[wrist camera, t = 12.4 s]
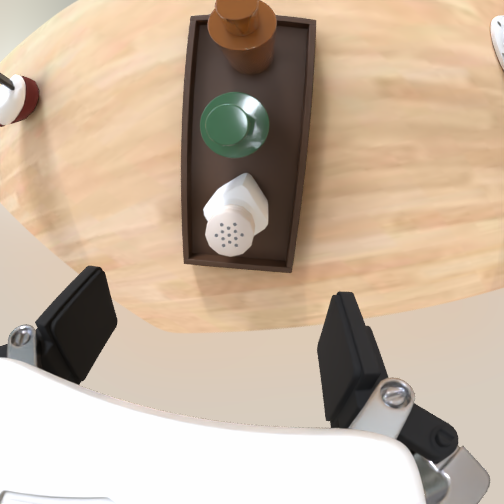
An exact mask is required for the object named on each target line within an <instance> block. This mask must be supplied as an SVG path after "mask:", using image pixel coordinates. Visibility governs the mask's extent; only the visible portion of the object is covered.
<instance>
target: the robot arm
mask: <svg viewBox="0 0 504 504" xmlns="http://www.w3.org/2000/svg"><path fill="white" fill-rule="evenodd" d="M491 37H492V42H493V46H494V49H495V52H496V55H497V57H498V59H499V62H500V64H501V66H502V68H503V70H504V16H502V15H501V16H496V17H495V18H493V20H492V22H491ZM35 323H36V325H37V327H38V328H37V329H36V330H35V329H34V327H33V326H31V325H27V324H26V325H21V326H19V327H17V328H15V329H14V330H13V331H12V332H11V334H10V335H9V338H8V344H6V345H3V346H0V504H478V503H479V502H480V500H481V499H482V498H483V496H484V495H485V493H486V492H487V490H488V488H489V485H490V476H489V474H488V473H487V471H486V470H485V469H484V468H483V467H482V466H481V465H480V463H479V462H478V461H477V460H476V459H475V458H474V457H473V456H472V455H471V454H470V453H469V451H468V450H466V448H465V447H464V446H462V447H459V446H458V435H457V432H456V430H455V429H454V428H453V427H452V426H451V425H450V424H448V423H446V422H444V421H443V420H441V419H440V418H438V417H436V416H435V415H433V414H431V413H429V412H428V411H426V410H425V409H423V408H421V407H419V406H418V405H416V404H415V403H414V401H415V393H414V391H413V389H412V387H411V386H410V385H409V384H408V383H407V382H405V381H404V380H401V379H399V378H388V375H387V372H386V369H385V366H384V363H383V360H382V357H381V354H380V352H379V349H378V346H377V343H376V341H375V338H374V335H373V332H372V330H371V328H370V327H369V326H365V323H364V321H363V317H362V315H361V312H360V309H359V307H358V304H357V302H356V299H355V297H354V294H353V293H352V292H338V293H337V295H333V296H332V298H331V302H330V305H329V309H328V312H327V316H326V319H325V323H324V326H323V329H322V333H321V336H320V339H319V342H318V347H317V353H318V359H319V367H320V375H321V383H322V390H323V399H324V408H325V417H326V421H330V423H331V428H304V427H302V428H301V427H277V426H262V425H250V424H239V423H231V422H222V421H215V420H209V419H203V418H196V417H191V416H185V415H180V414H176V413H171V412H166V411H162V410H157V409H154V408H150V407H146V406H142V405H138V404H135V403H131V402H127V401H124V400H121V399H117V398H115V397H111V396H108V395H105V394H102V393H99V392H97V391H94V390H91V389H88V388H85V387H83V386H80V385H79V384H80V382H81V381H84V380H85V378H86V376H87V375H88V373H89V371H90V369H91V367H92V366H93V364H94V362H95V361H96V359H97V357H98V356H99V354H100V352H101V350H102V349H103V347H104V346H105V344H106V342H107V341H108V339H109V338H110V336H111V334H112V332H113V331H114V329H115V328H116V326H117V317H116V313H115V310H114V306H113V303H112V299H111V295H110V291H109V287H108V283H107V279H106V275H105V272H104V271H103V270H102V269H101V268H100V267H96V266H88V267H86V268H85V269H84V270H83V271H82V272H81V273H80V274H79V275H78V276H77V277H76V278H75V280H73V281H72V282H71V283H70V285H68V286H67V288H66V289H65V290H64V291H63V292H62V293H61V294H60V295H59V296H58V297H57V298H56V299H55V300H54V301H53V302H52V304H51V305H50V306H49V307H48V308H47V309H46V310H45V311H44V312H43V314H42V315H41V316H40V317H39V318H38V320H37V321H36V322H35ZM424 494H425V495H424Z"/></svg>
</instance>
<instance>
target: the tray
mask: <svg viewBox="0 0 504 504" xmlns="http://www.w3.org/2000/svg"><path fill="white" fill-rule="evenodd" d="M275 16H276V20H277V26H276V37H275V49H274V59H273V62H272V64H271V66H270V67H269V68H268V69H267V70H266V71H264V72H262V73H260V74H257V75H244V74H241V73H238V72H237V71H235V70H234V69H233V68H232V67H231V66H230V64H229V63H228V61H227V60H226V58H225V57H224V55H223V54H222V52H221V51H220V49H219V48H218V46H217V45H216V43H215V42H214V40H213V39H212V38H211V36H210V34H209V31H208V19H209V17H210V15H199V16H191V18H190V26H189V35H188V44H187V54H186V65H185V78H184V92H183V111H182V140H181V206H182V236H183V256H184V264H192V265H203V266H214V267H225V268H237V269H248V270H261V271H273V272H286V273H291V272H292V266H293V259H294V252H295V246H296V239H297V231H298V224H299V216H300V209H301V201H302V193H303V184H304V176H305V167H306V157H307V148H308V137H309V127H310V115H311V103H312V90H313V75H314V59H315V38H316V20H312V19H305V18H297V17H288V16H278V15H275ZM229 92H242V93H246V94H249V95H251V96H253V97H255V98H256V99H257V100H258V101H260V102H261V103H262V105H263V106H264V108H265V109H266V111H267V113H268V117H269V132H268V136H267V138H266V140H265V142H264V143H263V145H262V146H261V147H260V148H259V149H258V150H257V151H255V152H254V153H252V154H250V155H248V156H245V157H242V158H227V157H223V156H220V155H218V154H216V153H215V152H213V151H212V150H211V149H210V148H209V147H208V146H207V145H206V143H205V142H204V140H203V138H202V135H201V131H200V120H201V116H202V113H203V111H204V109H205V107H206V106H207V105H208V104H209V103H210V102H211V101H212V100H213V99H214V98H216V97H218V96H219V95H222V94H225V93H229ZM243 173H249V174H250V175H252V177H253V178H254V180H255V181H256V183H257V184H258V186H259V188H260V189H261V191H262V192H263V194H264V195H265V197H266V199H267V200H268V225H267V226H266V228H265V229H264V230H262V231H261V232H259V233H258V234H256V235H254V237H253V241H252V245H251V247H249V248H248V249H247V250H246V251H245V252H244V253H243V254H240V255H236V256H232V257H229V256H225V255H221V254H218V253H217V252H216V251H215V250H213V249H212V248H211V247H210V246H209V244H208V241H207V239H206V236H205V233H206V227H207V223H208V221H207V219H206V218H205V216H204V211H203V209H204V207H205V206H206V204H207V203H208V201H209V200H210V199H211V197H212V196H213V195H214V193H215V192H216V191H217V189H219V188H220V187H222V186H223V185H225V184H226V183H228V182H230V181H231V180H233V179H234V178H236V177H238V176H239V175H241V174H243Z"/></svg>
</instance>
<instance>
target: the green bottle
mask: <svg viewBox="0 0 504 504" xmlns="http://www.w3.org/2000/svg"><path fill="white" fill-rule="evenodd" d="M200 131H201V135H202V138H203V140H204V142H205V143H206V145H207V146H208V147H209V148H210V149H211V150H212V151H213V152H215V153H216V154H218V155H220V156H223V157H227V158H242V157H245V156H248V155H250V154H252V153H254V152H255V151H257V150H258V149H259V148H260V147H261V146H262V145H263V143H264V142H265V140H266V138H267V136H268V132H269V117H268V113H267V111H266V109H265V108H264V106H263V105H262V103H261V102H260V101H258V100H257V99H256V98H255V97H253V96H251V95H249V94H246V93H242V92H229V93H225V94H222V95H219V96H218V97H216V98H214V99H213V100H212V101H211V102H210V103H209V104H208V105H207V106H206V107H205V109H204V111H203V113H202V116H201V120H200Z"/></svg>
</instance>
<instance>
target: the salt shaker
mask: <svg viewBox="0 0 504 504" xmlns="http://www.w3.org/2000/svg"><path fill="white" fill-rule="evenodd" d="M203 211H204V216H205V218H206V219H207V221H208V223H207V227H206V233H205V236H206V239H207V241H208V244H209V246H210V247H211V248H212V249H213V250H215V251H216V252H217V253H218V254H221V255H225V256H229V257H232V256H236V255H240V254H243V253H244V252H245V251H246V250H247V249H248V248H249V247H251V245H252V241H253V237H254V235H256V234H258V233H259V232H261V231H262V230H264V229H265V228H266V226H267V225H268V200H267V199H266V197H265V195H264V194H263V192H262V191H261V189H260V188H259V186H258V184H257V183H256V181H255V180H254V178H253V177H252V175H250V174H249V173H243V174H241V175H239V176H238V177H236V178H234V179H233V180H231V181H230V182H228V183H226V184H225V185H223V186H222V187H220V188H219V189H217V191H216V192H215V193H214V195H213V196H212V197H211V199H210V200H209V201H208V203H207V204H206V206H205V207H204V209H203Z"/></svg>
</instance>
